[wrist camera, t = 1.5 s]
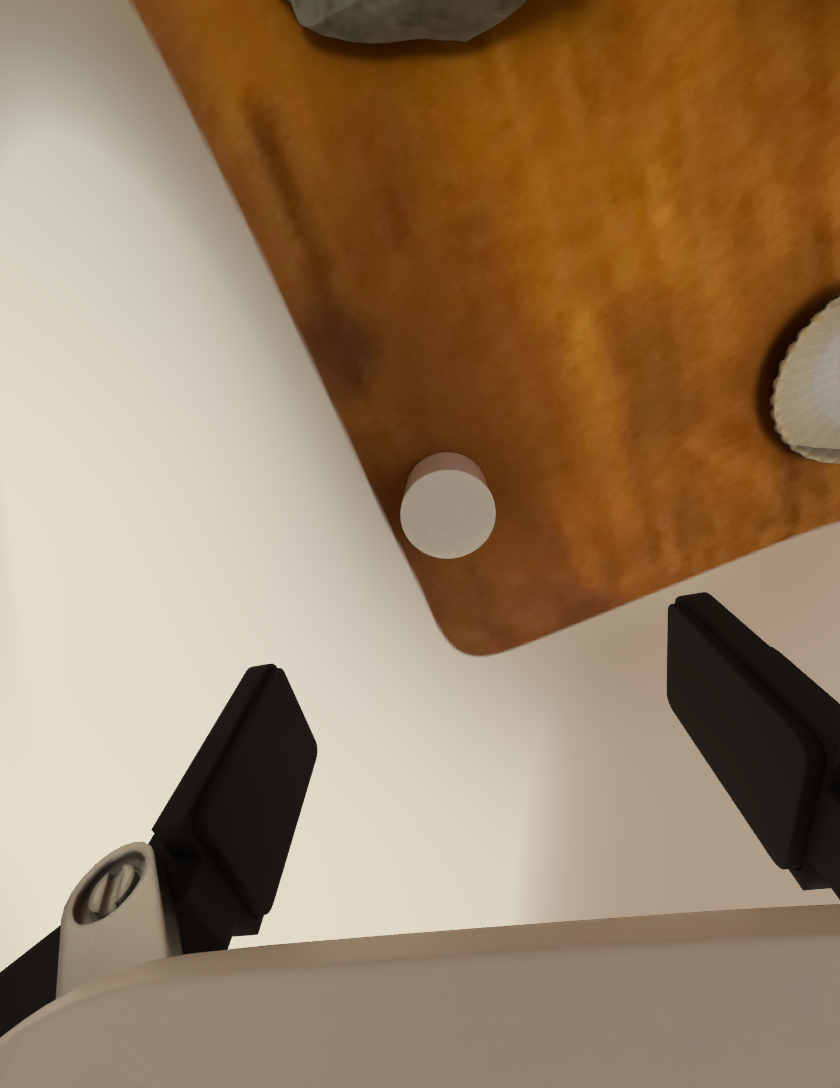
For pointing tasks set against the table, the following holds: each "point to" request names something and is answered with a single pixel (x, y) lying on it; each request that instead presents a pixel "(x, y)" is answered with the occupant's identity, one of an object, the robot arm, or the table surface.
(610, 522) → the table surface
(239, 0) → the table surface
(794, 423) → the seashell
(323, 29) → the stone
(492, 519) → the off-white cylinder
